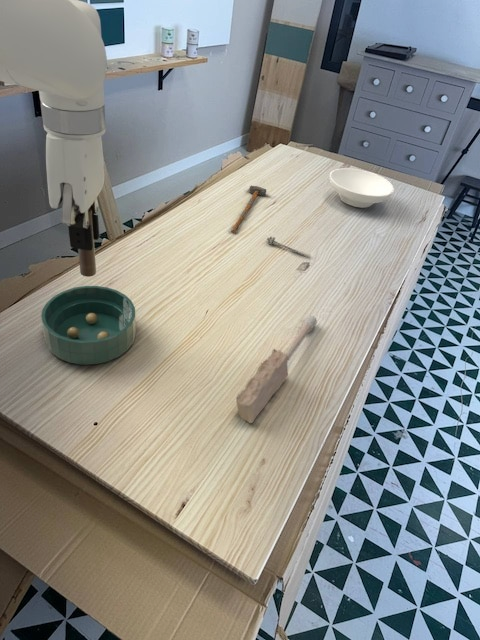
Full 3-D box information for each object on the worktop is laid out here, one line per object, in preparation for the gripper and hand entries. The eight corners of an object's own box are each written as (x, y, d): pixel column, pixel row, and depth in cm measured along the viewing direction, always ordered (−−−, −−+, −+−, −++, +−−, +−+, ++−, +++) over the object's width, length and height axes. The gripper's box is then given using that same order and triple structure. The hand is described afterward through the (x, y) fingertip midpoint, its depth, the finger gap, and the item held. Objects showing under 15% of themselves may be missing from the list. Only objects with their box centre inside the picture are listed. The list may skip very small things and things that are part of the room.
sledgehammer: (223, 232, 119) (241, 237, 118) (223, 225, 117) (242, 230, 117) (250, 190, 139) (266, 194, 139) (250, 184, 138) (267, 188, 137)
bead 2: (89, 327, 84) (88, 319, 82) (84, 321, 85) (83, 312, 83) (99, 323, 85) (99, 315, 83) (94, 317, 86) (93, 309, 84)
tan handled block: (299, 307, 94) (237, 383, 69) (320, 313, 92) (264, 393, 68) (293, 339, 97) (232, 422, 73) (313, 345, 96) (257, 432, 71)
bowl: (325, 183, 151) (331, 163, 147) (385, 196, 150) (392, 176, 146) (321, 208, 136) (328, 186, 132) (388, 223, 135) (396, 201, 131)
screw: (266, 243, 117) (269, 235, 117) (306, 261, 115) (309, 253, 115) (265, 241, 115) (268, 234, 115) (305, 259, 113) (309, 252, 113)
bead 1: (70, 342, 80) (69, 333, 79) (65, 335, 81) (64, 327, 80) (81, 338, 81) (80, 329, 80) (76, 331, 82) (75, 323, 81)
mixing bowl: (71, 380, 74) (67, 355, 71) (30, 327, 82) (25, 302, 79) (151, 344, 83) (152, 321, 80) (108, 299, 91) (107, 276, 88)
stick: (84, 278, 73) (79, 214, 66) (77, 270, 74) (71, 207, 67) (99, 274, 74) (94, 211, 67) (91, 266, 75) (86, 204, 68)
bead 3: (101, 346, 80) (100, 338, 79) (95, 340, 81) (94, 331, 80) (111, 342, 81) (111, 333, 80) (106, 335, 82) (105, 327, 81)
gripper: (66, 95, 65) (78, 214, 77) (16, 133, 52) (39, 268, 64) (120, 104, 65) (123, 221, 77) (83, 144, 53) (94, 276, 64)
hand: (85, 242), depth 70 cm, fingers closed on stick, 2 cm apart
